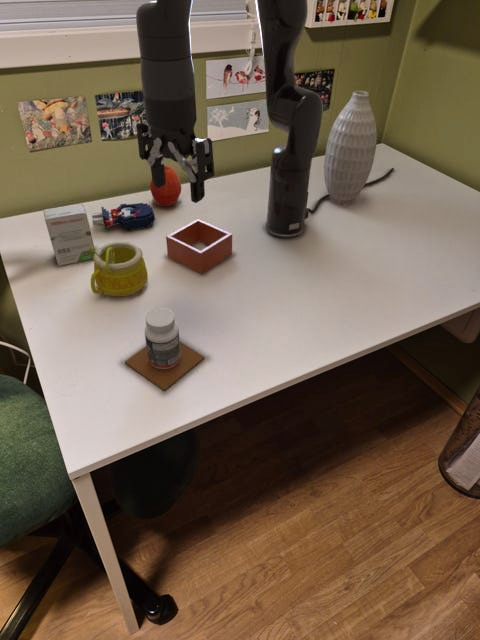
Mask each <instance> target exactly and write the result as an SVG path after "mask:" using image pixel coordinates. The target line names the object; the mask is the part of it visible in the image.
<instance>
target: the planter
mask: <svg viewBox="0 0 480 640" xmlns="http://www.w3.org/2000/svg"><path fill="white" fill-rule="evenodd" d="M165 241H166V251H167V257H168V259H170V260H173V261H175V262H177V263H179V264H181V265H183V266H184V267H186V268H188V269H190V270H192V271H194V272H196V273H198V274H200V275H203V274H205V273H206V272H207V271H209V270H211V269H212V268H214V267H215V266H216V265H218V264H220V263H222V262H223V261H224V260H226V259H227V258H229V257H230V256H232V255H233V233H231V232H229V231H226V230H224V229H222V228H220V227H217V226H215V225H213V224H211V223H208V222H206V221H204V220H203V219H199V218H196V219H195V220H193V221H191V222H189V223H188V224H186V225H184V226H182V227H180V228H178V229H176V230H175V231H173V232H171V233H169V234H167V235H166V236H165ZM198 242H200V243H202V244H204V245H206V247H204V248H203V249H201V250H200V249H198V248H195V247H193V245H195V244H197V243H198Z"/></svg>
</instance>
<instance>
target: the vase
mask: <svg viewBox="0 0 480 640" xmlns="http://www.w3.org/2000/svg"><path fill="white" fill-rule="evenodd" d="M377 141H378V131H377V122H376V117H375V114H374V112H373V108H372V106H371V103H370V94H369V92H367V91H365V90H355V91H353V92H352V95H351V98H350V99H349V101H347V103H346V104H345V106H344V107H343V108H342V110H341V111H340V112H339V113H338V115H337V117H336V118H335V120H334V122H333V125H332V127H331V129H330V130H329V135H328V138H327V142H326V148H325V153H324V163H323V178H324V185H325V187H326V192H327V195H328V194H329V196H330V197H329V198H330V200H331V202H333V204H337V205H350V204H352V203H353V201H355V199H356V198H357V197H358V196H359V195H360V193H361V192H362V191H363V189H364V185H365V184H366V183H367V181H368V180H369V176H370V174H371V172H372V168H373V164H374V162H375V161H374V160H375V156H376V155H375V154H376V150H377V144H378V143H377Z"/></svg>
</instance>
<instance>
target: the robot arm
mask: <svg viewBox="0 0 480 640" xmlns="http://www.w3.org/2000/svg"><path fill="white" fill-rule="evenodd" d="M192 6H193V0H154V1H148V2H146V3H143V4H141V5H140V6H139V7H138V8H137V10H136V13H135V14H136V15H135V24H136V32H137V41H138V49H139V56H140V79H141V89H142V96H143V103H144V112H145V119H146V120H143V121H140V122H138V123H136V133H137V134H136V136H137V146H138V155H139V158H140V160H142V161H146V162H147V165H148V166H149V167H150V174H151V180H153V183H154V186H155V187H157V188H160V187H162V186H164V185H165V184H166V178H165V169H164V165H165V163H164V162H163V161H164V159H167V160H168V159H169V160H172V161H173V162H176V163H178V165H179V166H180V168H181V169H182V171H185V173H186V174H187V176H188V178H189V179H190V181H189V187H190V201H191V202H192V203H195V204H197V203H199V202H201V201H202V200H203V199H204V198H205V196H206V191H205V190H206V189H205V181H208V180H209V179H211V178H213V177H214V176H215V164H214V162H215V161H214V151H213V150H214V149H213V141H212V139H211V138H210V137H206V138H204V139H201V138H198V137H197V136H196V133H195V126H196V123H197V118H198V117H197V99H196V98H197V97H196V83H195V70H194V64H193V59H192V57H193V56H192V43H191V42H192V41H191V27H190V19H191V14H192V13H191V12H192ZM255 6H256V13H257V20H258V24H259V30H260V39H261V47H262V55H263V56H262V57H263V64H264V79H265V80H264V81H265V82H264V84H265V100H266V101H265V104H266V112H267V113H266V114H267V117H268V120H269V122H270V123H271V125H272V126H273V127H275V129H278V130H280V131H283V132H285V133H287V139H286V140H287V141H286V143H284V144H280V145H277V146H275V147H274V148H273V149H272V151H271V158H270V171H269V172H270V174H269V187H268V198H267V199H268V200H267V201H268V202H267V213H266V223H265V230H266V231H267V233H269V234H270V235H271V236H273V237H276V238H280V239H281V238H282V239H291V238H296V237H299V236H300V235H301V234H302V233H303V231H304V227H305V222H306V220H307V219H308V218H309V214H313V213H315V212H316V211H317V209H318V208H319V205H320V204H321V202H322V201H323V200H325V199H327V198H330V196H329V194H328V193H327V194H326V195H323V196H322V197H320V198H319V199H318V200H317V202H316V204H315V205H314V207H313V209H311V208H309V207H308V200H309V186H310V185H309V184H310V176H311V168H312V162H313V158H314V156H315V154H316V151H317V147H318V142H319V137H320V132H321V127H322V122H323V115H324V114H323V113H324V105H323V99H322V98H321V96H320V94H319V93H318V92H316V91H313V90H311V89H310V90H309V89H307V88H304V87H301V86H299V85H298V84H297V81H296V74H295V53H296V50H297V47H298V44H299V43H300V40H301V37H302V35H303V32H304V30H305V26H306V24H307V19H308V11H309V10H308V9H309V8H308V0H255ZM146 146H147V147H146ZM146 148H147V149H146ZM189 157H191V160H187V159H188V158H189ZM194 169H195V170H194ZM394 170H395V168H394V167H391V169H390V170H389V171H388V172H386V173H385V174H384V175H383V176H381V177H379V178H376V179H374V180H371V181H369V182H366V183H365V185H364V187H367V186H371V185H373V184H376V183H378V182H380V181H382V180H384V179H386V178H387V177H388V176H389V175H391V173H392V172H393V171H394ZM195 171H196V172H195ZM364 187H363V188H364Z"/></svg>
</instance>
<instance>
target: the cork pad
mask: <svg viewBox="0 0 480 640" xmlns="http://www.w3.org/2000/svg"><path fill="white" fill-rule="evenodd" d="M180 350H181V358H180V361H179V362H178V364H177V365H175V366H174V367H172V368H169V369H158V368H156V367H154V366H152V365H151V363H150V362H149V358H148V352H147V345H146V346H144V347H143V348H141V349H140V350H139V351H138V352H136V353H134V354H133V355H132V356H130V357H129V358H128V359H126V360H125V361H124V364H125V365H126V366H128V367H129V368H131V369H132V370H133V371H135V372H136V373H138V374H139V375H140V376H142V377H143V378H144V379H146V380H148V381H149V382H150V383H152V384H153V385H154V386H156V387H157V388H158V389H160V390H161V391H163V392H167V391H168V390H169V389H170V388H171V387H173V385H175V384H176V383H177V382H179V381H180V380H181V379H182V378H183V377H185V376H186V375H187V374H188V373H189V372H190V371H192V370H193V369H194V368H195V367H197V366H198V365H199V364H200V363H201V362H203V361H204V360H205V359H206V358H205V356H204V355H202V354H201V353H199V352H198V351H197V350H195V349H193V348H191V347H190V346H188V345H187V344H185V343H183V342H182V341H180Z"/></svg>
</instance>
